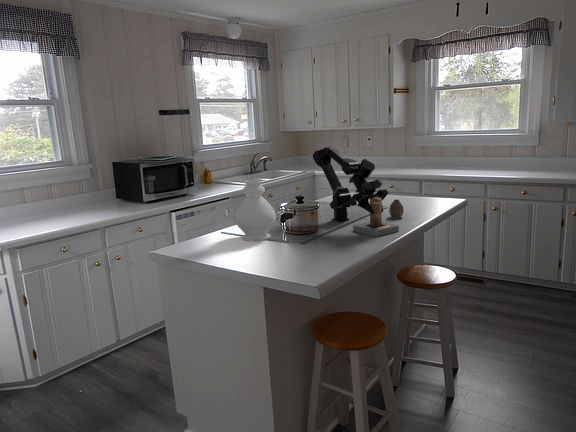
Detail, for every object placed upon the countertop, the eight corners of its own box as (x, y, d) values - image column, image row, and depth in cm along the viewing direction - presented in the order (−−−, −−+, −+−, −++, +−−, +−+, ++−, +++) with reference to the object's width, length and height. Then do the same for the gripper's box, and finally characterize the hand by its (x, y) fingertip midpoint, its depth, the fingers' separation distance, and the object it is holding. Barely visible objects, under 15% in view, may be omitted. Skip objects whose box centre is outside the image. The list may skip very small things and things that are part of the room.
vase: (387, 218, 228) (387, 200, 226) (391, 215, 234) (391, 198, 232) (401, 219, 224) (401, 201, 222) (404, 216, 230) (405, 198, 228)
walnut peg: (368, 228, 204) (368, 199, 201) (372, 225, 209) (372, 197, 206) (379, 229, 202) (379, 200, 199) (383, 226, 206) (383, 197, 203)
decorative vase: (248, 245, 191) (244, 185, 186) (229, 236, 206) (225, 181, 200) (284, 237, 201) (282, 180, 195) (263, 229, 215) (260, 176, 210)
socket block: (353, 230, 208) (353, 224, 207) (376, 225, 215) (376, 219, 214) (375, 236, 196) (375, 230, 196) (398, 231, 204) (398, 225, 203)
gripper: (353, 175, 199) (369, 205, 192) (386, 171, 208) (403, 199, 201) (342, 191, 207) (357, 219, 200) (374, 186, 216) (390, 213, 209)
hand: (377, 212), depth 203 cm, fingers closed on walnut peg, 5 cm apart
